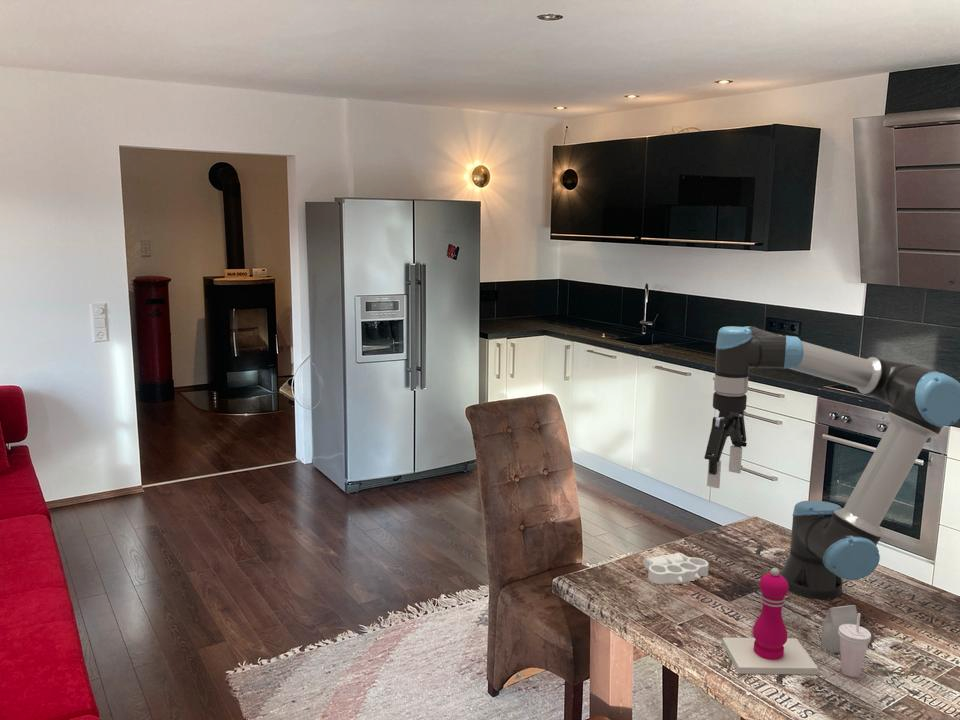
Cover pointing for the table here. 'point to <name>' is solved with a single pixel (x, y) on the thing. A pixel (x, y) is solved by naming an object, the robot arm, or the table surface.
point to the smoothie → (853, 647)
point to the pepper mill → (771, 617)
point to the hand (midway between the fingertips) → (724, 479)
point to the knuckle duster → (675, 568)
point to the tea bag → (836, 626)
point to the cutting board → (752, 663)
